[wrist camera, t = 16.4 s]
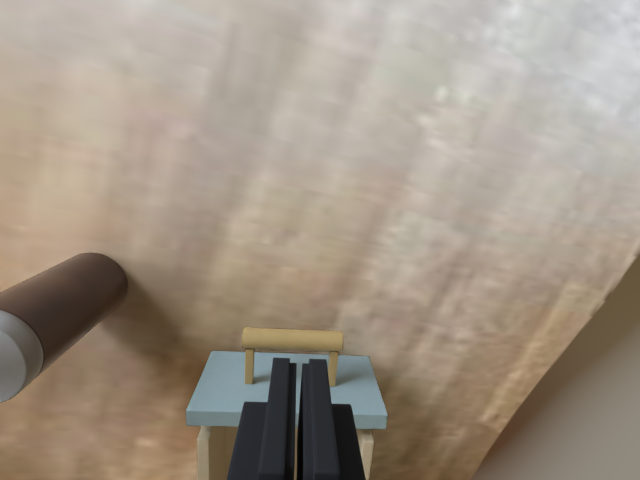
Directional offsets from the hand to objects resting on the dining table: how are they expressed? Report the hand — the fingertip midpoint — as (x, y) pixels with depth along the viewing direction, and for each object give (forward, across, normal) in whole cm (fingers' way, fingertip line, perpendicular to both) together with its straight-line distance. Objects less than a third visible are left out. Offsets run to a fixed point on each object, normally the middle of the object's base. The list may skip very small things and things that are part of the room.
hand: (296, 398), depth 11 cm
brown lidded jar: (+17, +16, +4) cm, 24 cm away
